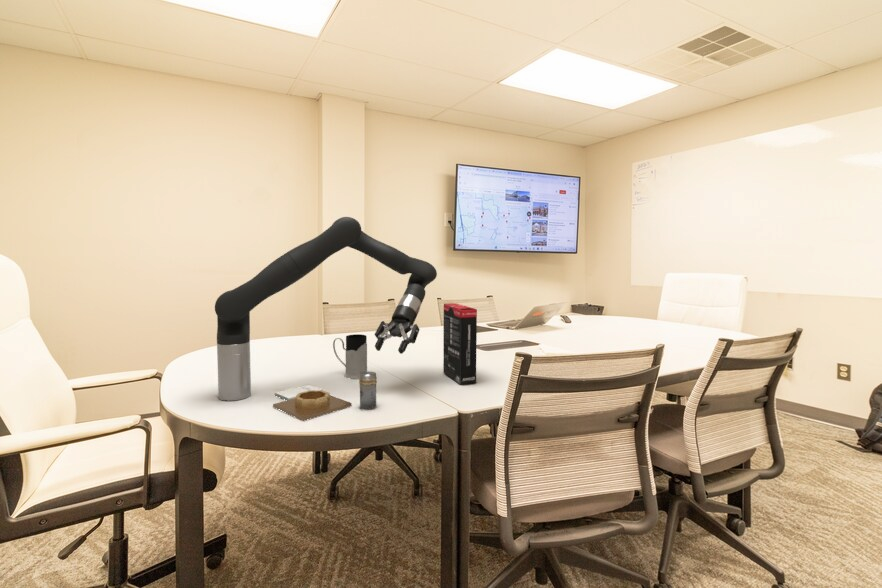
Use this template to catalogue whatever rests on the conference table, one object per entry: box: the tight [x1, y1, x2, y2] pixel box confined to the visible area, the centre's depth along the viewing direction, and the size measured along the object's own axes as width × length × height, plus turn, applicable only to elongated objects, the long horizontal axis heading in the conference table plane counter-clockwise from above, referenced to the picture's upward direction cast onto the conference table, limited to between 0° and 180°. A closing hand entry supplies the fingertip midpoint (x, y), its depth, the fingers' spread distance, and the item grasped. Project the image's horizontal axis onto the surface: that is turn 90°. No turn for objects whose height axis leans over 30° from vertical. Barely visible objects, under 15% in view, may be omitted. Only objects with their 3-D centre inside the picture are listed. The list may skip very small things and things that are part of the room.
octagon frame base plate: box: [272, 389, 353, 422], centre depth 127 cm, size 16×16×4 cm
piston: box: [358, 371, 378, 411], centre depth 127 cm, size 5×5×10 cm
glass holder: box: [332, 333, 368, 380], centre depth 161 cm, size 9×14×15 cm, turn 71°
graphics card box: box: [442, 302, 478, 386], centre depth 158 cm, size 17×7×27 cm, turn 22°
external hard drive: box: [273, 384, 323, 401], centre depth 139 cm, size 2×8×12 cm
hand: (388, 350), depth 136 cm, fingers open, 8 cm apart
